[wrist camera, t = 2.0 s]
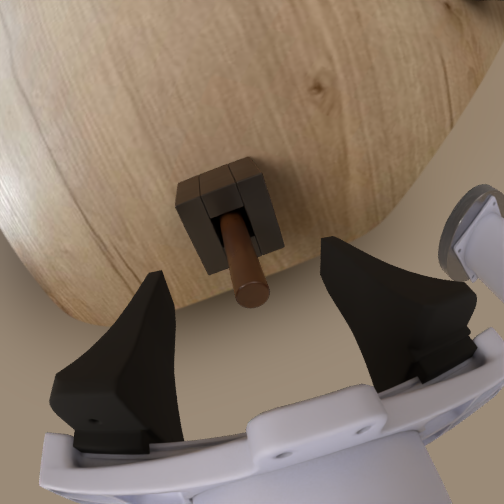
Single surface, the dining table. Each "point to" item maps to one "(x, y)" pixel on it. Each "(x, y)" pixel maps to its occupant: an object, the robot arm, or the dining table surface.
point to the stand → (227, 210)
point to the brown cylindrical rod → (243, 261)
